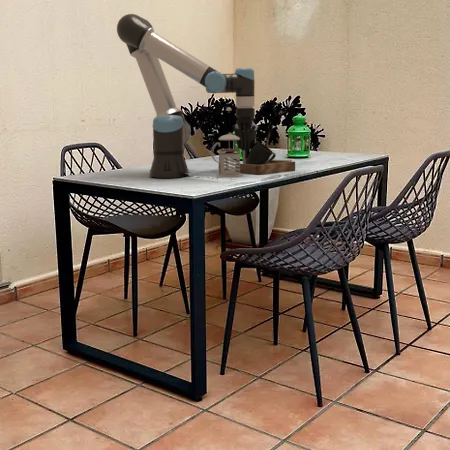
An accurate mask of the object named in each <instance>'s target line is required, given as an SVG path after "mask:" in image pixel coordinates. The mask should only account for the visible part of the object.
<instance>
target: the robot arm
mask: <svg viewBox="0 0 450 450" xmlns="http://www.w3.org/2000/svg"><path fill="white" fill-rule="evenodd" d="M116 32H117V33H116V34H117V36H118V37H119V39H120V41H121V42H123V43H125V45H126V47H127V49H128V52H129V55H130V56H131V57H133V58H134V59H135V60H136V62H137V66H138V68H139V70H140V73H141V76H142V79H143V81H144V83H145V86H146V89H147V92H148V95H149V98H150V101H151V103H152V105H153V108H154V111H155V113H156V117H154V118H153V121H152V132H153V133H152V136H153V140H152V141H153V160H152V163H151V168H150V169H149V176H150V177H151V178H161V179H164V178H165V179H166V178H169V179H170V178H183V177H188V176H189V175H190V174H189V172H190V171H189V168H188V165H187V161H186V159H185V156H184V155H185V154H184V153H185V152H184V151H185V150H184V149H185V147H184V145H185V144H186V143H187V142H188V141H189V139H190V137H191V126H190V125H189V123H188V122H187V120H186V118H185V116H184V113H183V111H182V109H180V108H178V107H177V106H176V105H177V104H176V102H175V100H174V97H173V94H172V92H171V89H170V86H169V84H168V81H167V78H166V75H165V73H164V70H163V68H162V64H161V62H160V60H161V61H162V62H164V63H166V64H168V65H169V66H171V67H172V68H173V69H175V70H178V71H179V72H180V73H181V74H183V75H185V76H187V77H188V78H190V79H192V80H194V81H195V82H196V83H198V84H200V85H201V86H202V87H204V88H205V91H206V93H208V94H233V93H235V107H236V108H235V116H236V118H237V120H236V124H235V125H234V124H233V125H232V129H233V131H234V135H235V136H237V137H239V138H240V140H235V141H236V145H237V146H236V147H237V149H239V150H241V159H242V164H247V163H246V161H247V158H248V155H249V152H250V150H251V148H252V147H253V145H254V144H255V142H256V138H257V131H258V129H259V127H260V126H259V125H258V124H255V120H254V118H255V114H256V113H255V112H256V110H255V108H254V107H255V84H256V83H255V70H254V69H253V68H251V67H242V68H241V67H240V68H239V67H238V68H236V69H235V70H234V73H221V72H220V71H218V70H216V69H215V68H213V67H211V66H210V65H208V64H207V63H205V62H204V61H202V60H201V59H199V58H197V57H195V56H193V55H192V54H190V53H189V52H187V51H185V50H184V49H183V48H181V47H179V46H177V45H176V44H174V43H172V42H171V41H170V40H168V39H166V38H164V37H163V36H162V35H160V34H158V33H157V32H155V29H154V27H153V25H152V24H151V22H149V21H148V20H147V19H145V18H143V17H141V16H140V15H138V14H134V13H128V14H125V15H122V17H121V18H120V19H119V20H118V22H117V25H116Z"/></svg>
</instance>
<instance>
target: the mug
mask: <svg viewBox="0 0 450 450" xmlns="http://www.w3.org/2000/svg"><path fill="white" fill-rule="evenodd" d="M273 159H276V153H275V152H273V150H272V149H270V148H269V147H268V146H266V145H265V144H263V143H262V142H260V141H258V140H255V143H254V145H253V147H252V148H251V149H250V152H249V155H248V158H247V161H246V163H247V164H252V165H263V164H267V163H269V160H273Z"/></svg>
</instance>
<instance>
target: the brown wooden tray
mask: <svg viewBox="0 0 450 450" xmlns="http://www.w3.org/2000/svg"><path fill="white" fill-rule="evenodd" d="M278 160H279V159H277V160H269V164H263V165H252V164H243V163H240V173H241V174H245V175H256V176H257V175H258V176H260V175H268V174H269V175H270V174H276V173H277V174H278V173H285V172H294V171H296V161H293V160H292V161H278ZM234 167H236V166H234ZM234 171H236V170H235V169H234Z"/></svg>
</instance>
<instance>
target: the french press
mask: <svg viewBox="0 0 450 450" xmlns="http://www.w3.org/2000/svg"><path fill="white" fill-rule="evenodd" d="M225 109H226V111H228V112H230V111H232V108H231V107H227V108H225ZM218 140H219V141H228V148H221V142H215V144H214V145H213V146H212V147H211V158H212V159H213V161H215V162H216V163H217V164H218V174H217V175H216V177H219V178H238V177H239V178H240V177H243V176H244V175H243V173H240V164H241V152H238V151H239V150H240V148H230V146H231V145H230V141H236V140H240V138H239V137H237V136H235V134H231V133H228V134H224V135H221V136H219V138H218ZM217 145H218V147H220V149H219V151H220V152H222V153H219V154H218V160H216V158H215V155H214V154H213V151H214V150H215V148H216V147H217ZM235 166H236V167H235ZM235 170H236V171H235Z"/></svg>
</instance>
